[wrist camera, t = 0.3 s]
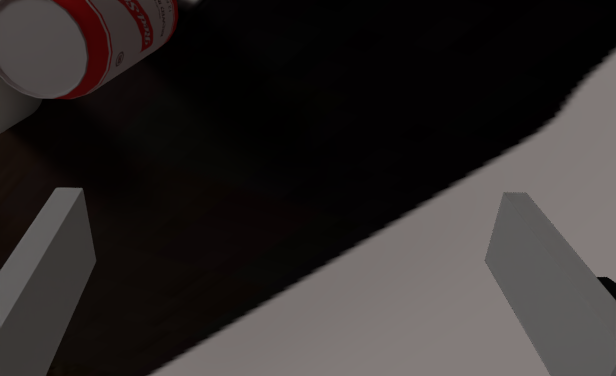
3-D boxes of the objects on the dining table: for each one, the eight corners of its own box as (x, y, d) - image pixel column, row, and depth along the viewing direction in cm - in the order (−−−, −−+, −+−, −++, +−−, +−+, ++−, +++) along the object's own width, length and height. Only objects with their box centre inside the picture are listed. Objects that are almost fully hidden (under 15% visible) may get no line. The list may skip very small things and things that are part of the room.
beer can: (152, -54, 39) (45, -46, 24) (197, 27, 41) (124, 78, 26) (83, -14, 40) (-58, 17, 26) (130, 62, 42) (25, 129, 28)
